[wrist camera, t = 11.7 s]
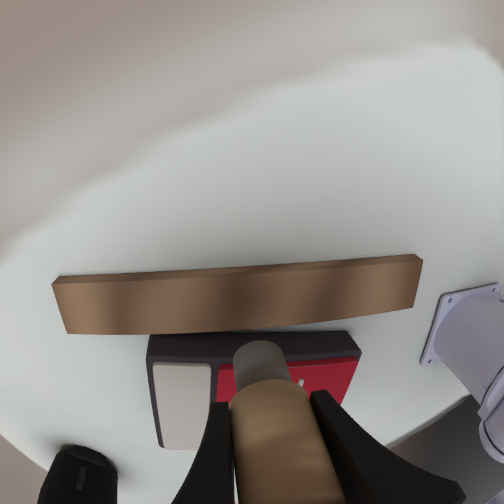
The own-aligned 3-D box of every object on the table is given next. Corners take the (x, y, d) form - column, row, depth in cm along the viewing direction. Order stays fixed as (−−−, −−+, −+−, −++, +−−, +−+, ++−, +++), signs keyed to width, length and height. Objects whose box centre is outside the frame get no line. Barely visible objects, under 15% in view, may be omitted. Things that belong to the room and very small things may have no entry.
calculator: (328, 444, 23) (159, 455, 20) (314, 412, 27) (160, 418, 24) (368, 355, 20) (143, 363, 17) (344, 323, 24) (150, 323, 21)
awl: (294, 331, 13) (358, 485, 6) (288, 380, 15) (332, 519, 7) (223, 334, 13) (241, 506, 6) (225, 385, 14) (241, 533, 7)
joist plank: (414, 254, 21) (423, 259, 20) (405, 300, 22) (412, 307, 21) (58, 276, 18) (51, 284, 17) (73, 324, 20) (67, 333, 18)
